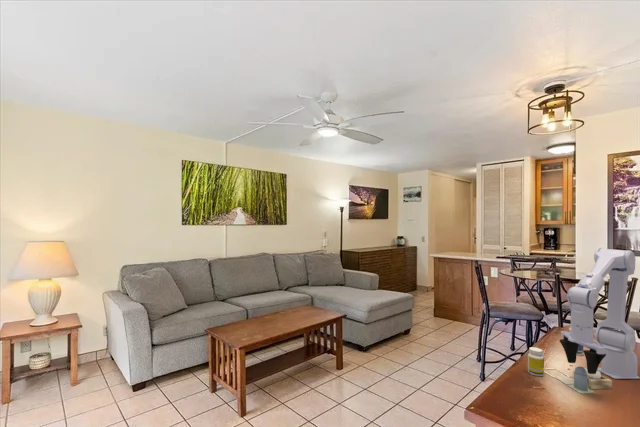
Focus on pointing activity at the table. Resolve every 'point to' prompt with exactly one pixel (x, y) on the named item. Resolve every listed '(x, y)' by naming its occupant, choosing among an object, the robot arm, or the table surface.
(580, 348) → the pill bottle
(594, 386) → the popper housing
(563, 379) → the square
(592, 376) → the dome
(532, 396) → the table surface
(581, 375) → the pawn
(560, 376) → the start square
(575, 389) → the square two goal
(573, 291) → the robot arm
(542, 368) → the supplement bottle
